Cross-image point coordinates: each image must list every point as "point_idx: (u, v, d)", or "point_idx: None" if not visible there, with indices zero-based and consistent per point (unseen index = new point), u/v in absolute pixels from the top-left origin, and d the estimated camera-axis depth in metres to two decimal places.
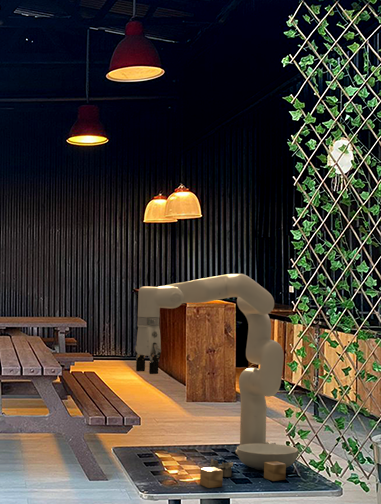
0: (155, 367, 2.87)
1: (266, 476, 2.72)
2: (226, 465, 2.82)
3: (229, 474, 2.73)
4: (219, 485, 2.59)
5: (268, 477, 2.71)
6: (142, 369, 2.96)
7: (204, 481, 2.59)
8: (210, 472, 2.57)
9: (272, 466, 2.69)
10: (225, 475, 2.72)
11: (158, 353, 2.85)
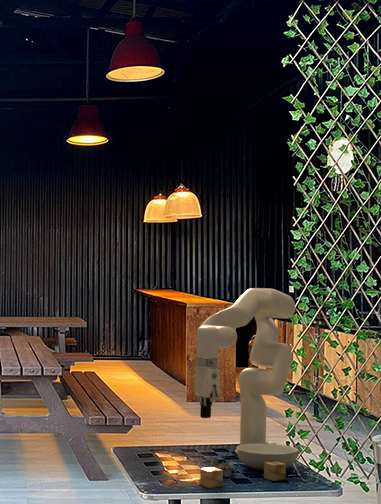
0: (208, 411, 2.86)
1: (266, 476, 2.72)
2: (226, 465, 2.82)
3: (229, 474, 2.73)
4: (219, 485, 2.59)
5: (268, 477, 2.71)
6: None
7: (204, 481, 2.59)
8: (210, 472, 2.57)
9: (272, 466, 2.69)
10: (225, 475, 2.72)
11: (212, 401, 2.84)
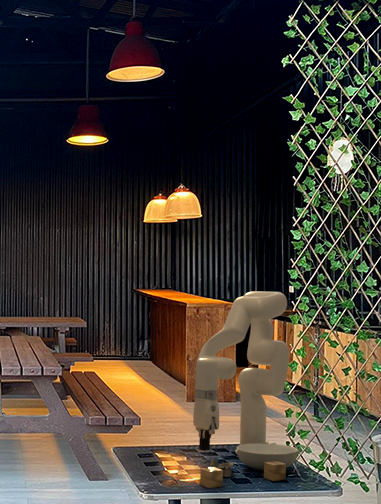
0: (207, 443, 2.85)
1: (266, 476, 2.72)
2: (226, 465, 2.82)
3: (229, 474, 2.73)
4: (219, 485, 2.59)
5: (268, 477, 2.71)
6: None
7: (204, 481, 2.59)
8: (210, 472, 2.57)
9: (272, 466, 2.69)
10: (225, 475, 2.72)
11: (211, 434, 2.83)
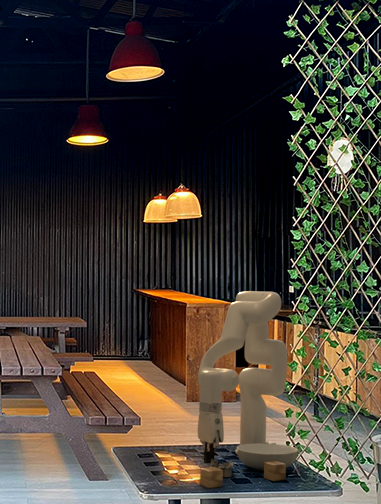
0: (211, 456, 2.83)
1: (266, 476, 2.72)
2: (226, 465, 2.82)
3: (229, 474, 2.73)
4: (219, 485, 2.59)
5: (268, 477, 2.71)
6: None
7: (204, 481, 2.59)
8: (210, 472, 2.57)
9: (272, 466, 2.69)
10: (225, 475, 2.72)
11: (215, 447, 2.80)
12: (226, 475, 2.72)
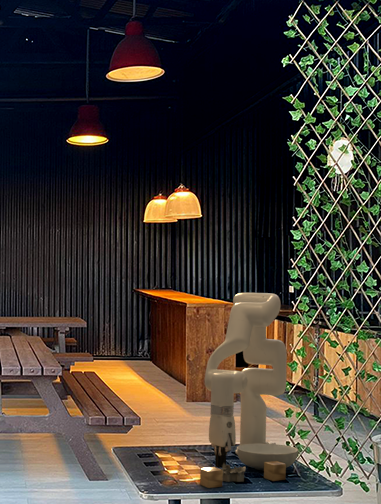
0: (223, 461, 2.76)
1: (266, 476, 2.72)
2: (238, 469, 2.76)
3: (242, 479, 2.66)
4: (219, 485, 2.59)
5: (268, 477, 2.71)
6: None
7: (204, 481, 2.59)
8: (210, 472, 2.57)
9: (272, 466, 2.69)
10: (238, 480, 2.66)
11: (227, 451, 2.74)
12: (238, 480, 2.66)
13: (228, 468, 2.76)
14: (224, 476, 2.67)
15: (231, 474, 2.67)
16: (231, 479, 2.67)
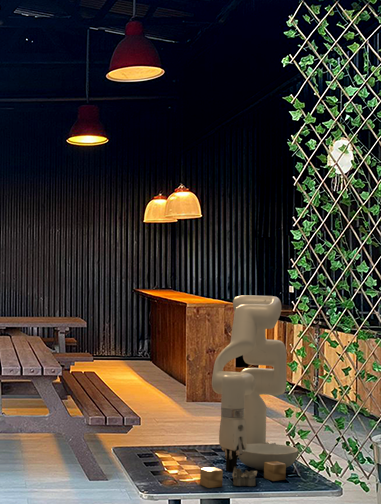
0: (234, 464, 2.71)
1: (266, 476, 2.72)
2: (250, 473, 2.70)
3: (253, 483, 2.61)
4: (219, 485, 2.59)
5: (268, 477, 2.71)
6: None
7: (204, 481, 2.59)
8: (210, 472, 2.57)
9: (272, 466, 2.69)
10: (249, 484, 2.60)
11: (238, 454, 2.68)
12: (250, 484, 2.60)
13: (239, 472, 2.70)
14: (235, 480, 2.61)
15: (242, 478, 2.61)
16: (242, 483, 2.61)
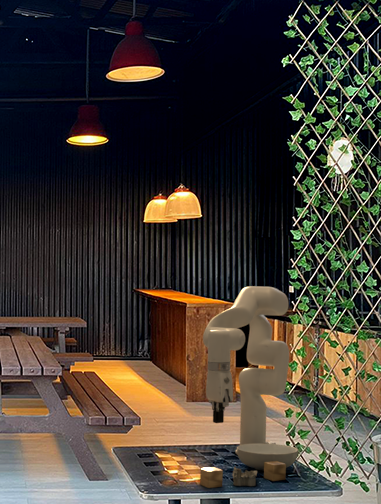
0: (221, 416, 2.80)
1: (266, 476, 2.72)
2: (250, 473, 2.70)
3: (253, 483, 2.61)
4: (219, 485, 2.59)
5: (268, 477, 2.71)
6: None
7: (204, 481, 2.59)
8: (210, 472, 2.57)
9: (272, 466, 2.69)
10: (249, 484, 2.60)
11: (225, 406, 2.78)
12: (250, 484, 2.60)
13: (239, 472, 2.70)
14: (235, 480, 2.61)
15: (242, 478, 2.61)
16: (242, 483, 2.61)
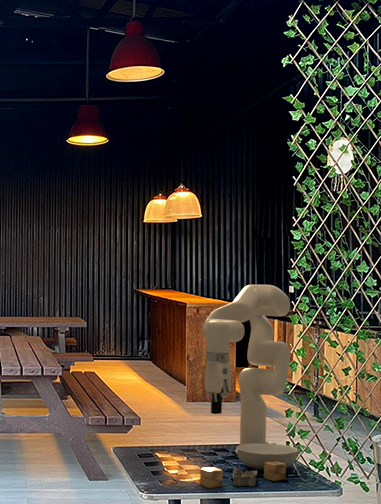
0: (219, 407, 2.81)
1: (266, 476, 2.72)
2: (250, 473, 2.70)
3: (253, 483, 2.61)
4: (219, 485, 2.59)
5: (268, 477, 2.71)
6: None
7: (204, 481, 2.59)
8: (210, 472, 2.57)
9: (272, 466, 2.69)
10: (249, 484, 2.60)
11: (223, 397, 2.78)
12: (250, 484, 2.60)
13: (239, 472, 2.70)
14: (235, 480, 2.61)
15: (242, 478, 2.61)
16: (242, 483, 2.61)
